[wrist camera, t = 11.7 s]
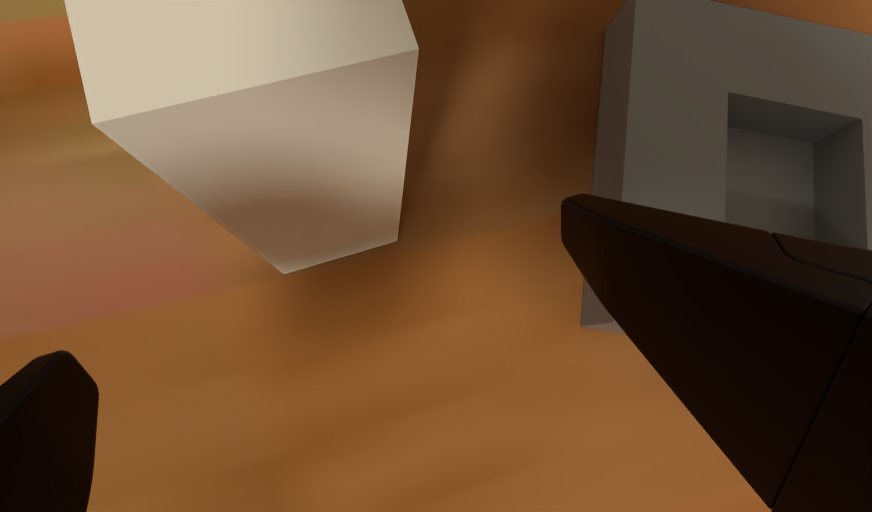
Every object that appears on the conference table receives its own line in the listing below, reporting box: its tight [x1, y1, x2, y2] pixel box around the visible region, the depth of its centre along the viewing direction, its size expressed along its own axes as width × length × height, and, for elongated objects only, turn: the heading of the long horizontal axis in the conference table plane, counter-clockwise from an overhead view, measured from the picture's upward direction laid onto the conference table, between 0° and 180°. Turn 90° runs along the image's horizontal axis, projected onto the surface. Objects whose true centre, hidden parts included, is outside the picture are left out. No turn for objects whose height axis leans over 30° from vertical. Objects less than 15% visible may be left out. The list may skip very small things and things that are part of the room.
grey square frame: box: [580, 0, 872, 334], centre depth 17 cm, size 12×12×2 cm
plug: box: [65, 0, 419, 274], centre depth 12 cm, size 4×4×11 cm
